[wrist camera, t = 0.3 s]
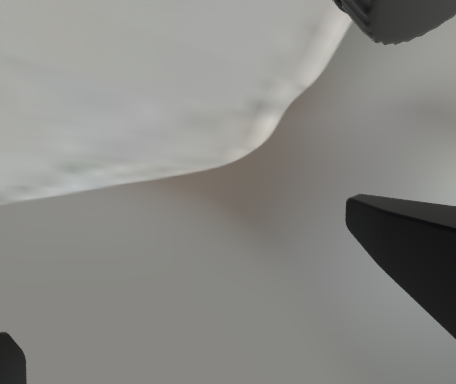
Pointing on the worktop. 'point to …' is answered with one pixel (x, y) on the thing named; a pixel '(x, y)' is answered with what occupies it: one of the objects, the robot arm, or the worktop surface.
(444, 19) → the supplement bottle
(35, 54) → the worktop surface
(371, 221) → the robot arm
